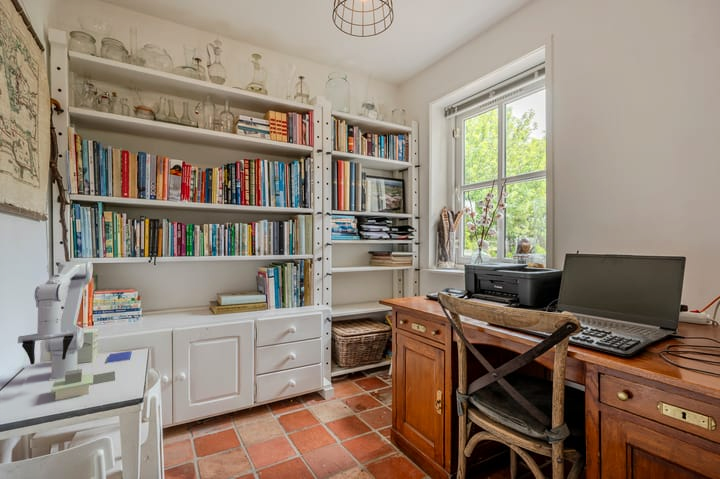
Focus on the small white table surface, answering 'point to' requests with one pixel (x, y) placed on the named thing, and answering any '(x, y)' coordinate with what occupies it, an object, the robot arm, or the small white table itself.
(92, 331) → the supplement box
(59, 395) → the dish
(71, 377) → the lid
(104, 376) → the mat
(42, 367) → the small white table surface
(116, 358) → the hard drive
